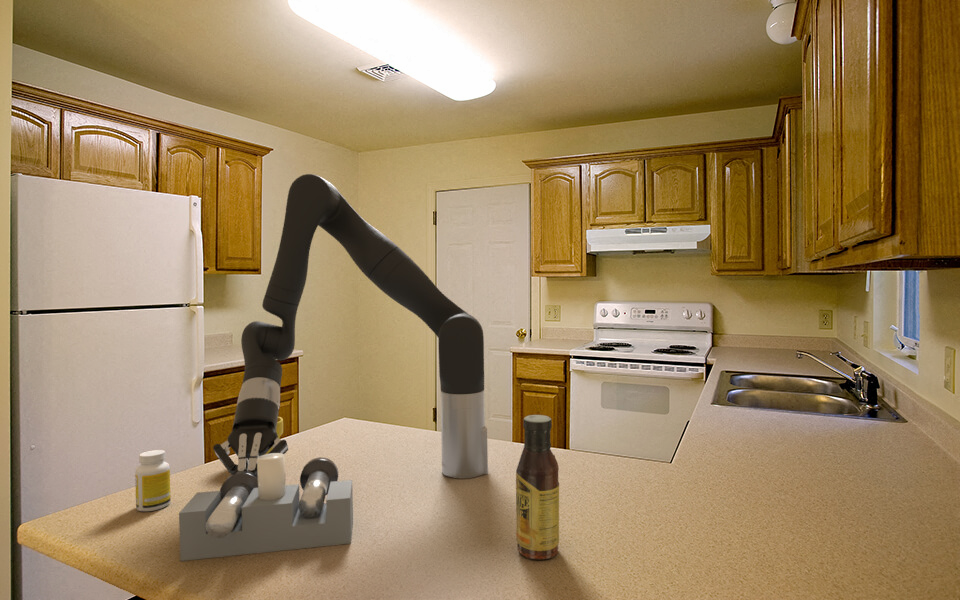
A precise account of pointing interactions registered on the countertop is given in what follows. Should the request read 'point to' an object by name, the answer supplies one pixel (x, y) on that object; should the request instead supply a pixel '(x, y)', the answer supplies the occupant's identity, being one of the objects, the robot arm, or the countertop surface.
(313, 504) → the knob
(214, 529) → the knob
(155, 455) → the supplement bottle
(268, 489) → the white cylinder
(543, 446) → the sauce bottle
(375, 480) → the countertop surface
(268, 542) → the slotted grey stand
